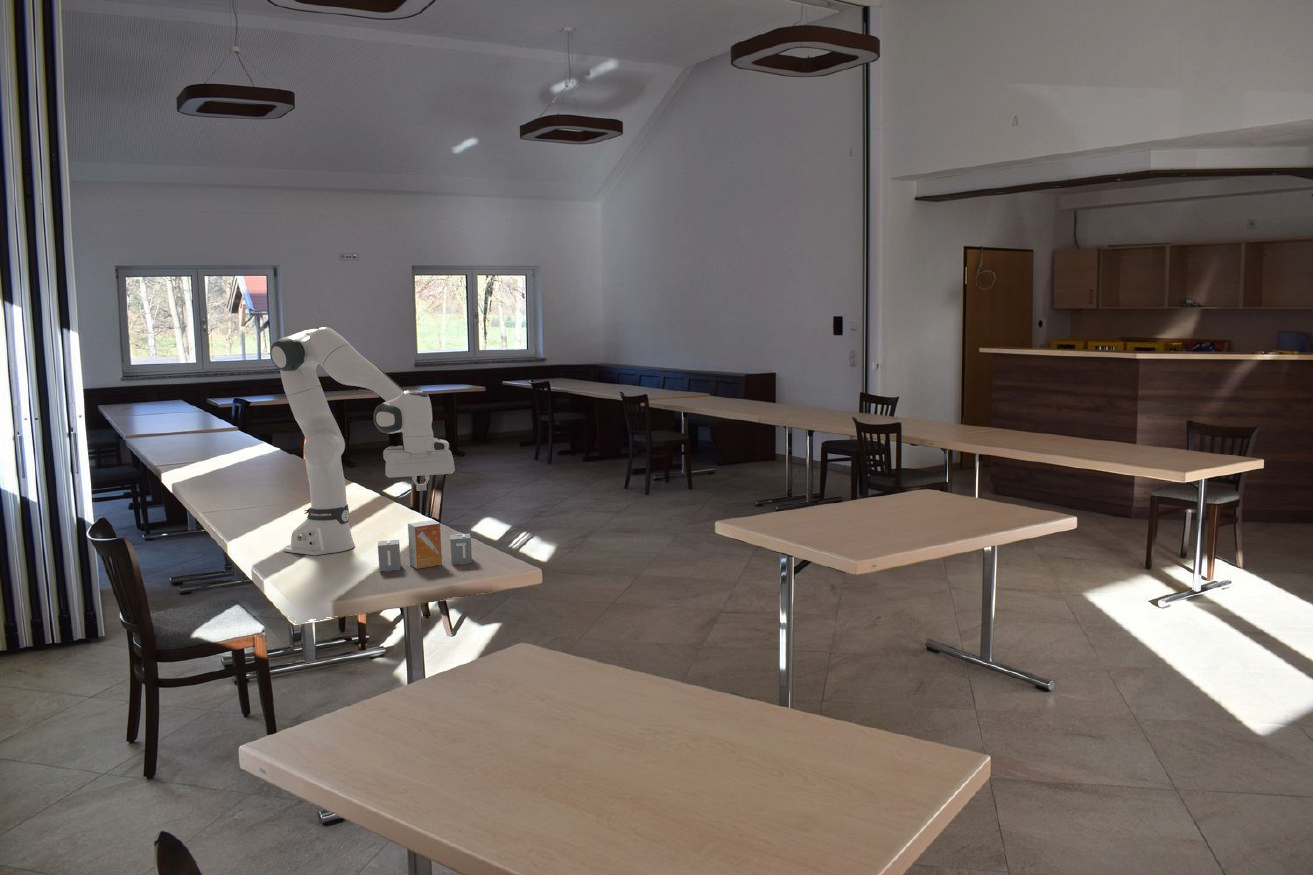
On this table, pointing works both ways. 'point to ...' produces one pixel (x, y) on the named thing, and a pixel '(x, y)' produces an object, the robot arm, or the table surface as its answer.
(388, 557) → the numbered block one
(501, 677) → the table surface
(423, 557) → the small box
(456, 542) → the numbered block seven
